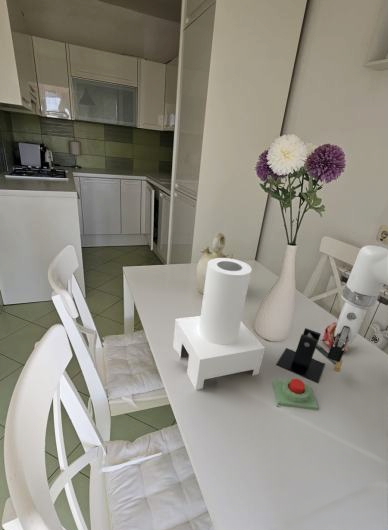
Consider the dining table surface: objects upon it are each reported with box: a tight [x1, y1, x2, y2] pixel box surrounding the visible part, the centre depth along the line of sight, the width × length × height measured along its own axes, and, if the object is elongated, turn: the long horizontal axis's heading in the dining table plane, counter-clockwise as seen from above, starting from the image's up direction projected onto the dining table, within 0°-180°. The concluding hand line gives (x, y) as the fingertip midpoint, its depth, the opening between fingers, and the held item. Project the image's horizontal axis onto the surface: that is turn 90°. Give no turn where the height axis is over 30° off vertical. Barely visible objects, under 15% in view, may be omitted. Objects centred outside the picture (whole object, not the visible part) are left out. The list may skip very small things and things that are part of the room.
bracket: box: [276, 327, 326, 384], centre depth 88 cm, size 12×10×12 cm
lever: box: [306, 333, 343, 373], centre depth 85 cm, size 12×5×2 cm, turn 59°
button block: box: [271, 378, 319, 411], centre depth 78 cm, size 10×8×4 cm
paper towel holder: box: [172, 258, 266, 391], centre depth 82 cm, size 19×19×30 cm
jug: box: [196, 232, 234, 295], centre depth 124 cm, size 15×16×25 cm
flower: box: [319, 322, 349, 353], centre depth 100 cm, size 10×9×8 cm
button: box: [289, 378, 306, 394], centre depth 77 cm, size 4×4×2 cm
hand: (336, 350), depth 83 cm, fingers open, 9 cm apart
